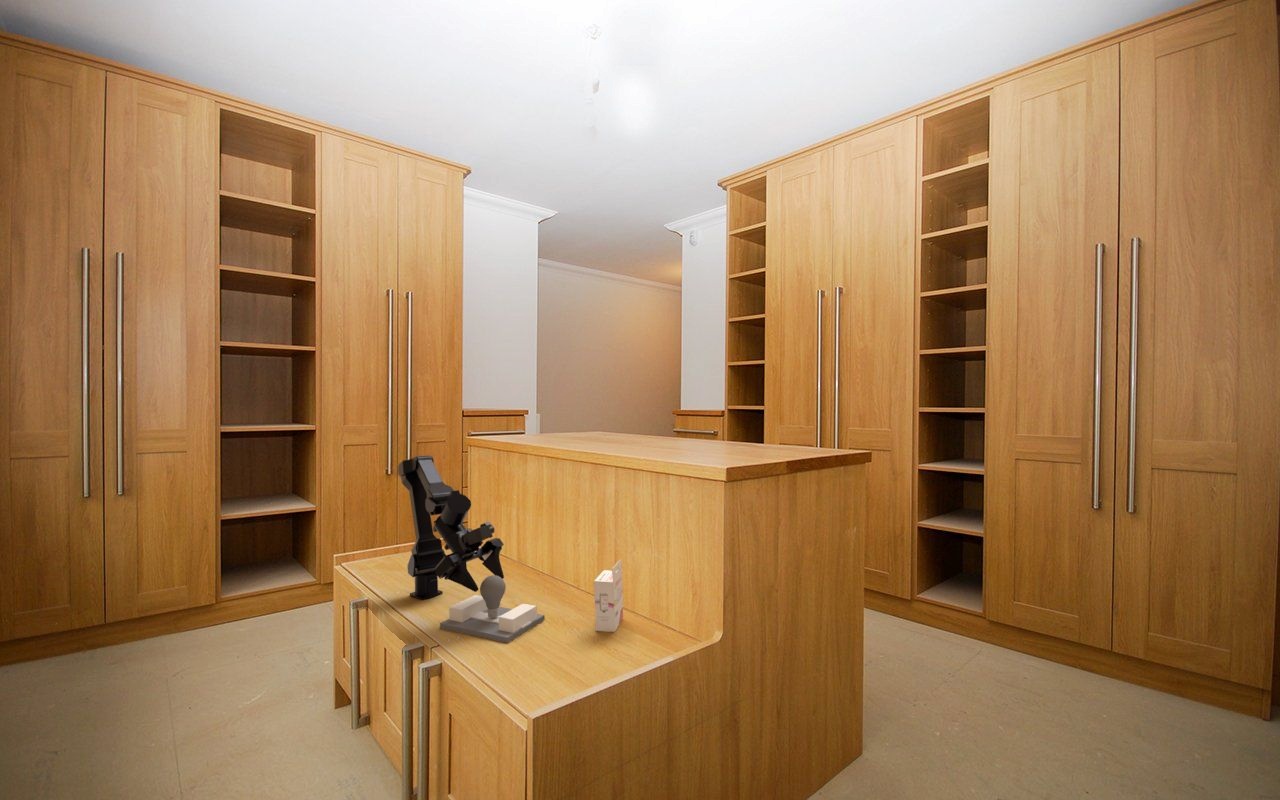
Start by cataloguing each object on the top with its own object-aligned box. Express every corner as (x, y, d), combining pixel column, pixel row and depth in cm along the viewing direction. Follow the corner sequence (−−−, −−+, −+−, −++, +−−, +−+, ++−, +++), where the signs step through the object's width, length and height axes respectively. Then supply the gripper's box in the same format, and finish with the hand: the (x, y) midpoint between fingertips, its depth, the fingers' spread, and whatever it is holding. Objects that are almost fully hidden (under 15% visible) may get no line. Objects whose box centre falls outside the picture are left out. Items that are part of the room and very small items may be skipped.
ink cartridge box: (603, 617, 136) (603, 557, 136) (623, 618, 135) (622, 558, 135) (594, 631, 128) (593, 567, 128) (614, 632, 127) (614, 568, 127)
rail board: (440, 628, 130) (439, 610, 130) (480, 607, 143) (480, 591, 143) (507, 643, 122) (507, 624, 122) (544, 619, 135) (544, 602, 135)
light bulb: (483, 612, 136) (482, 572, 135) (508, 611, 136) (507, 571, 136) (477, 622, 130) (477, 580, 129) (503, 621, 130) (502, 579, 130)
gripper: (444, 521, 127) (482, 575, 122) (497, 506, 144) (532, 553, 139) (419, 551, 130) (455, 605, 125) (474, 533, 147) (507, 580, 142)
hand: (490, 584), depth 133 cm, fingers open, 9 cm apart
